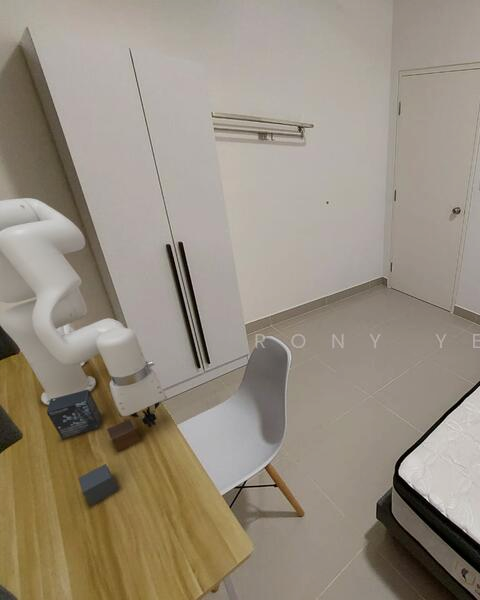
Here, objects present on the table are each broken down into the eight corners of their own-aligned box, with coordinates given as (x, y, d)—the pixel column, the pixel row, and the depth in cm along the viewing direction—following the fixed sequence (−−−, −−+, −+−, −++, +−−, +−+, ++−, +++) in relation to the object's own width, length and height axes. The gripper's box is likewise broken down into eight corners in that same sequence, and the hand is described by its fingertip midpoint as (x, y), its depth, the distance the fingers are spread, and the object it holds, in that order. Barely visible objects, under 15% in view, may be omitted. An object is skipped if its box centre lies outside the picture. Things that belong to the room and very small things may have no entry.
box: (62, 440, 88) (45, 412, 84) (66, 425, 93) (50, 398, 88) (99, 428, 92) (85, 401, 88) (102, 415, 97) (88, 388, 92)
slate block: (86, 491, 77) (78, 477, 75) (112, 476, 81) (105, 463, 78) (91, 505, 74) (82, 492, 72) (118, 490, 78) (111, 477, 76)
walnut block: (113, 441, 89) (106, 428, 87) (135, 430, 93) (129, 418, 90) (117, 452, 86) (111, 439, 84) (140, 441, 90) (134, 428, 87)
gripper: (159, 354, 91) (175, 402, 100) (89, 380, 81) (114, 431, 90) (168, 366, 87) (185, 416, 96) (96, 395, 77) (122, 447, 85)
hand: (151, 423), depth 93 cm, fingers closed
